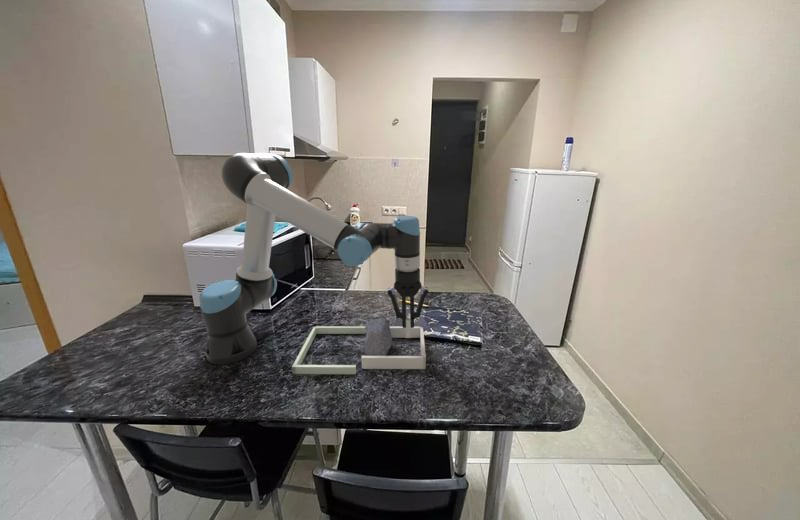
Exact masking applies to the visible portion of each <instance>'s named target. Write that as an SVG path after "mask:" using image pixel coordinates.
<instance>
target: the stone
mask: <svg viewBox="0 0 800 520" xmlns="http://www.w3.org/2000/svg"><path fill="white" fill-rule="evenodd" d="M364 341H365V342H364V354H365V356H388V352H389V350H390V349H391V347H392V345H393V338H392V336H391V332H390V321H389V320H388V319H387V318H386V317H385V316H378V317H372V318H369V319H368V320H367V324H366V333H365V340H364Z"/></svg>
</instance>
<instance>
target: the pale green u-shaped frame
mask: <svg viewBox="0 0 800 520" xmlns="http://www.w3.org/2000/svg"><path fill="white" fill-rule="evenodd" d="M366 332H367V330H366V326H363V325H362V326H361V325H360V326H359V325H356V326H355V325H353V326H345V325H343V326H341V325H340V326H338V325H337V326H336V325H335V326H331V325H329V326H326V325H324V326H322V325H321V326H320V325H317V326H316V325H315V326H313V327H312V330H311V331H310V333H309V334H308V336H307V338H306V340H305V342H304V344H303V345H302V347H301V349H300V351H299V353H298V355H297V357H296V358H295V361H294V362H293V364H292V366H291V371H292V375H356V374H357V365H356V364H302V363H303V361H304V359H305V357H306V355H307V353H308V351H309V349H310V348H311V346H312V344H313V341H314V339H315V337H316V335H325V334H329V335H330V334H331V335H333V334H334V335H346V334H348V335H351V334H352V335H356V334H357V335H358V334H359V335H366Z"/></svg>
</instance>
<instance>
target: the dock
mask: <svg viewBox="0 0 800 520" xmlns="http://www.w3.org/2000/svg"><path fill="white" fill-rule="evenodd" d="M389 326H390V325H389ZM390 332H391V336H392V339H398V338H400V339H402V338H405V339H407V338H406V328H403V327H402V326H396V325H395V326H394V325H393V326H390ZM412 338H413V339H414V338H415V339H417V338H418V339H419V340H420V341H419V342H420V354H421V355H386V356H369V355H361V360H360V361H361V369H364V370H427V369H426V368H427V367H426V366H427V365H426V364H427V355H426V347H425V346H426V345H425V336H424V327H423V326H414V328H411V338H410V339H412Z"/></svg>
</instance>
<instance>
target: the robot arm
mask: <svg viewBox="0 0 800 520" xmlns="http://www.w3.org/2000/svg"><path fill="white" fill-rule="evenodd" d="M293 176H294V175H293V172H292V169H291V166H290V165H289V163H288V162H287V160H286V159H284V157H282V156H280V155H278V154H274V153H268V152H258V153H257V152H254V153H251V152H250V153H249V152H248V153H247V152H239V153H235V154H232V155H230V156H229V157H228V158H227V159H226V160H225V162H224V163H223V165H222V168H221V178H222V182H223V183H224V186H225V188H226V189H227V190H228V191H229V192H230V193H231V194H232V195H233V196H235V197H236V198H237V199H239V200H240V201H241V202H243V203H246V205H247V206H246V216H245V217H246V218H245V227H244V238H243V248H242V257H241V258H242V261H241V265H240V266H238V267H237V268H236V272H235V279H225V280H220V281H218V282H214V283H212V284H209V285H207V286H206V287H205V288H203V290H202V291H201V292H200V294H199V298H198V299H199V307H200V310H201V314H202V317H203V320H204V321H203V322H204V325H205V329H206V334H207V340H206V345H205V350H204V351H205V353H204V354H205V356H206V360H207V362H209V363H210V364H213V365H221V366H222V365H229V364H233V363H236V362H240V361H241V360H244V359H245V358H247V357H249V356H250V355H252V354H253V353H254V352H255V351H256V350H257V348H258V342H257V338H256V335H254V333H253V331H252V329H251V328H250V327H249V325H248V321H247V314H248V313H249V312H252V310H254V309H255V308H257V307H259V306H260V305H262V304H263V303H265V302H267V301H269V300H270V299H271V297H272V296H274V294H275V293H276V291H277V287H278V282H277V278H275V274H274V273H273V270H272V269H271V268H270V261H271V260H270V259H271V254H272V253H271V252H272V245H273V238H274V237H273V236H274V229H275V223H276V217H277V218H279V219H281V220H283V221H285V222H286V223H288V224H290V225H291V226H294V227H295V228H297V229H298V230H300V231H302V232H304V233H306V234H307V235H309V236H311V237H312V238H314V239H316V240H318V241H320V242H321V243H323V244H325V245H327V246H329V247H331V248H332V249H333V250H335V251H336V252H337V254H338V257H339V258H340V260H341V261H342V263H344V264H345V265H347V266H352V267H353V266H354V267H356V266H359V265H361V264H362V263H364V262H366V261H367V260H368V259H369V258H370V257H371V256H372V255H373V254H375V252H377V250H378V249H389V250H390V249H393V250H394V267H395V270H394V274H395V275H394V276H395V277H394V278H395V279H394V280H395V282H394V284H393V286H392V287H388V288H387V293H386V294H387V295H388V296H389V297H390V300H391V303H392V306H393V309H394V313H395V316H396V318H397V319H401V320H402V323H401V325H402V327H403V328H406V338H405V339H412V338H411V328H414V327H415V319H416V318H420V317H421V313H422V309H423V306H424V303H425V300H426V296H427V295H428V293H429V288H428V287H427V286H426V287H425V286H423V285H422V283H421V269H420V267H421V253H420V252H421V250H420V247H421V246H420V245H421V243H420V242H421V231H420V219H419V218H418V217H416V216H413V215H399V216H396V217H394V218H393V222H392V223H387V222H386V223H385V222H384V223H383V222H370V221H366V222H358V223H356V224H355V226H351V225H349V224H348V223H347V222H345V221H344V220H341V219H339V218H337V217H336V216H334V215H333V214H331V213H329V212H327V211H326V210H323V209H322V208H320V207H318V206H317V205H315V204H314V203H312V202H310V201H308V200H306V199H304V198H303V197H301V196H300V195H297V194H296V193H294V192H292V191H290V190H289V189H288V188H290V186H291V185H292V183H293ZM418 292H419V293H420V296H419V299H418V302H417V303H418V304H417V306H416V310H415V296H416V295H417V294H418ZM396 293H398V295H399V296H400V297H401V310H400V307H399V306H400V305H399V303H398V299H397V296H396ZM407 298H409V309H410V310H409V312H410V313H409V315H407V300H406V299H407Z"/></svg>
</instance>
